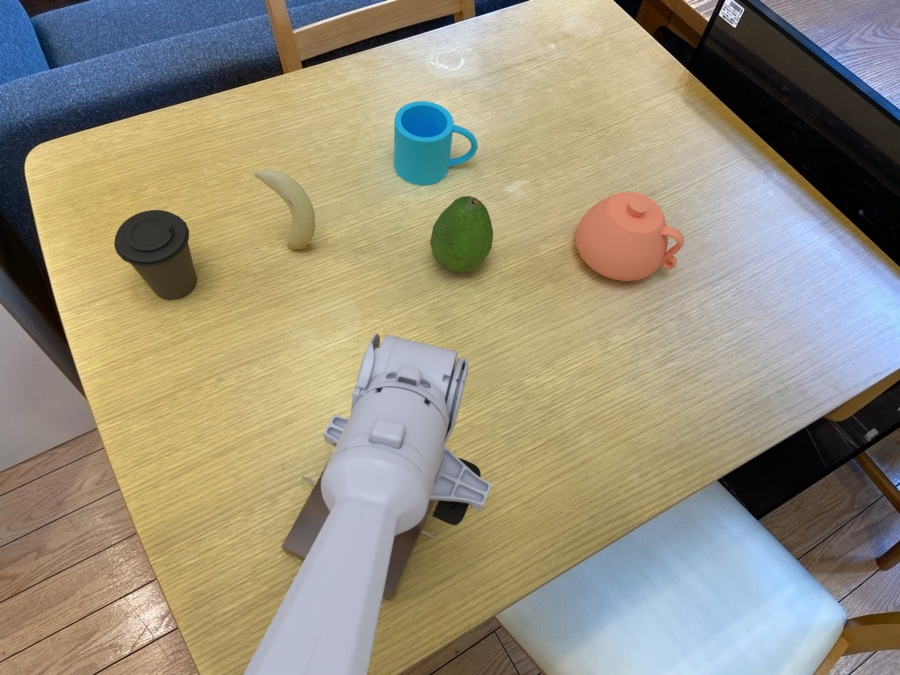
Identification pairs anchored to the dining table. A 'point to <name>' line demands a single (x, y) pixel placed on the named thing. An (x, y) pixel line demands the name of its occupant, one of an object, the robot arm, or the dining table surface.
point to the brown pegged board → (314, 520)
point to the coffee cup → (158, 252)
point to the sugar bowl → (626, 237)
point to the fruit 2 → (462, 235)
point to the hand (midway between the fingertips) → (404, 491)
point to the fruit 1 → (292, 206)
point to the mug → (426, 143)
